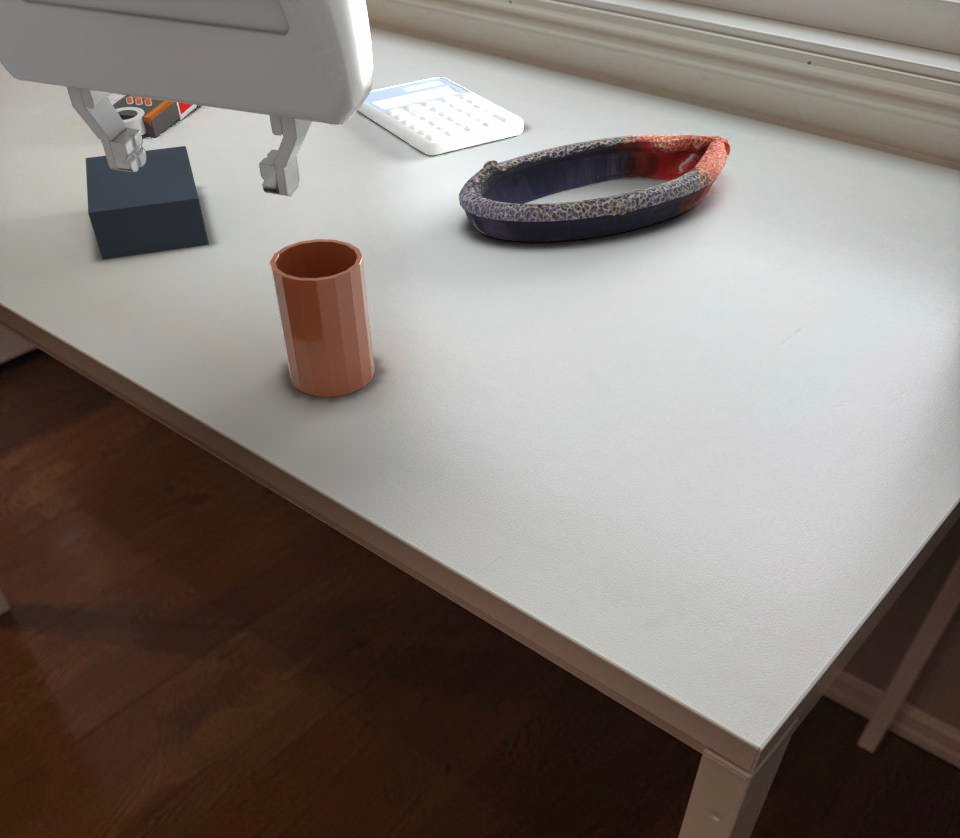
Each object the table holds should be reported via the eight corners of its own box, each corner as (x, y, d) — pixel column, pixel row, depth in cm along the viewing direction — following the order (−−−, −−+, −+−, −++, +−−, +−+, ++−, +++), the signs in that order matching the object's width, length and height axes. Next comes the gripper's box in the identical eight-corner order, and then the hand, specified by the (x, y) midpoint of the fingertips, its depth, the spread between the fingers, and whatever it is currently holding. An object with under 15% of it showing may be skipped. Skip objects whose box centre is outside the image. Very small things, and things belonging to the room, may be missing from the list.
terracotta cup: (299, 410, 74) (277, 286, 67) (286, 366, 79) (264, 246, 72) (383, 395, 76) (370, 272, 68) (365, 353, 80) (351, 233, 73)
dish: (432, 212, 99) (429, 161, 96) (686, 160, 108) (692, 111, 104) (496, 274, 89) (496, 220, 86) (770, 212, 98) (781, 160, 94)
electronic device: (89, 117, 113) (154, 70, 122) (98, 143, 115) (160, 96, 125) (140, 122, 112) (201, 75, 121) (147, 149, 114) (207, 100, 123)
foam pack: (104, 265, 92) (88, 212, 88) (100, 207, 101) (85, 157, 98) (210, 250, 94) (198, 198, 90) (196, 195, 103) (185, 145, 100)
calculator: (428, 158, 109) (428, 140, 108) (350, 108, 121) (349, 91, 120) (527, 134, 114) (527, 117, 112) (443, 88, 126) (442, 72, 124)
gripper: (-103, -128, 44) (10, 178, 54) (322, -84, 40) (352, 233, 51) (-21, -163, 47) (69, 129, 58) (373, -125, 44) (391, 177, 55)
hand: (204, 178), depth 55 cm, fingers open, 8 cm apart
